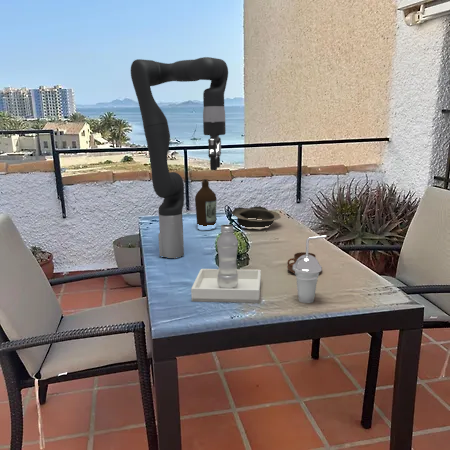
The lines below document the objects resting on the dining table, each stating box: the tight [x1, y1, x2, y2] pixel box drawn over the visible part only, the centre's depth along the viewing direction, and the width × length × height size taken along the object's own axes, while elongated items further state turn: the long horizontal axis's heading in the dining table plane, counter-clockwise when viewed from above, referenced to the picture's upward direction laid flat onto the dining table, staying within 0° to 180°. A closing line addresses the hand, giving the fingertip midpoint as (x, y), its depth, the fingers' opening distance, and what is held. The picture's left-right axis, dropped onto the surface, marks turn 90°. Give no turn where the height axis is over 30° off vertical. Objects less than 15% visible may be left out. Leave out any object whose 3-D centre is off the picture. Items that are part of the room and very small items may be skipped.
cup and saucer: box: [286, 251, 317, 274], centre depth 151 cm, size 12×12×6 cm
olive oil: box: [194, 178, 217, 226], centre depth 214 cm, size 11×11×25 cm
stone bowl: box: [231, 205, 281, 227], centre depth 218 cm, size 25×25×9 cm
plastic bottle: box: [216, 223, 239, 289], centre depth 133 cm, size 6×7×20 cm
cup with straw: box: [292, 234, 327, 304], centre depth 125 cm, size 8×9×20 cm
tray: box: [190, 268, 262, 304], centre depth 135 cm, size 20×18×4 cm
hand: (215, 168), depth 149 cm, fingers open, 8 cm apart
